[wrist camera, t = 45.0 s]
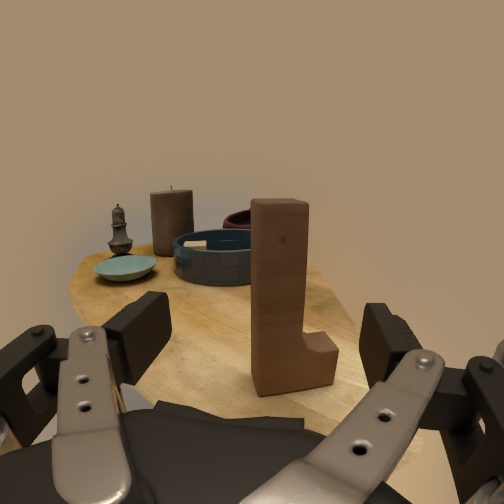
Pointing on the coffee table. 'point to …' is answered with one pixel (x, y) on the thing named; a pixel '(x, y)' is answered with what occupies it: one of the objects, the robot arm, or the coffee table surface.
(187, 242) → the cube
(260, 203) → the wooden block
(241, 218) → the bowl
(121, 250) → the salt shaker
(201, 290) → the coffee table surface
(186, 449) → the robot arm
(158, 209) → the pillar candle
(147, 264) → the saucer
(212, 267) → the bowl
